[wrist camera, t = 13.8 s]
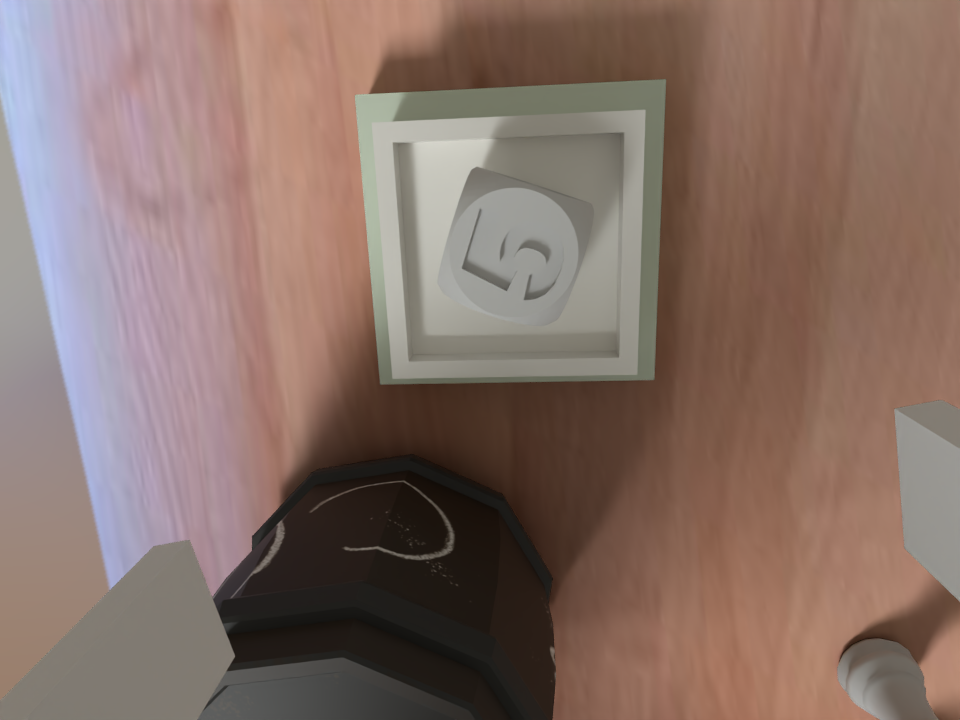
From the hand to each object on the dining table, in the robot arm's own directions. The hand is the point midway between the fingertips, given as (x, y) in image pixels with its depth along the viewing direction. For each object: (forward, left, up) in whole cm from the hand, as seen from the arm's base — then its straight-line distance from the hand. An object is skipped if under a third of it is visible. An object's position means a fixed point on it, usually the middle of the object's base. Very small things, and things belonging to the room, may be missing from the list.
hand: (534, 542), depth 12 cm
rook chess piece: (+16, -26, -23) cm, 39 cm away
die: (0, +4, -18) cm, 19 cm away
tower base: (0, +3, -24) cm, 24 cm away
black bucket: (-11, -15, -23) cm, 30 cm away
